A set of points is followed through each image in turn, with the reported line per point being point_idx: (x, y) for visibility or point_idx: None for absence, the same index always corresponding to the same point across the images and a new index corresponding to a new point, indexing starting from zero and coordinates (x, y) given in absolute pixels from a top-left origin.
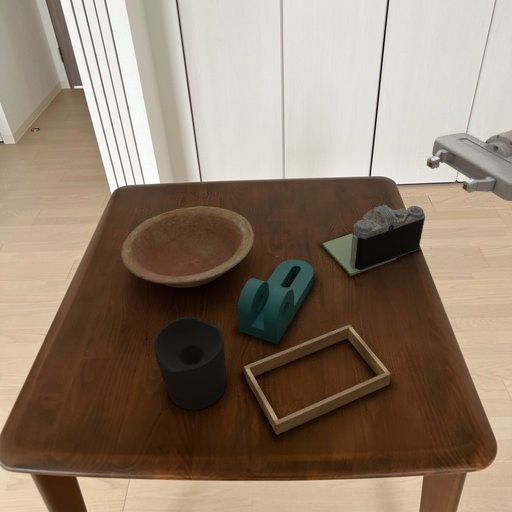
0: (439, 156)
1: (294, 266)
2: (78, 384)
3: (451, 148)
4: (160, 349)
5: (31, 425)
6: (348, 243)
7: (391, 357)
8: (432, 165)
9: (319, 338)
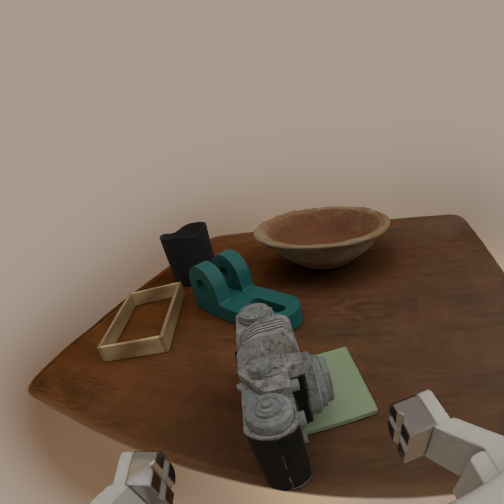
0: (457, 447)
1: (285, 308)
2: (236, 243)
3: (491, 485)
4: (192, 228)
5: (220, 238)
6: (335, 377)
7: (120, 373)
8: (391, 418)
9: (166, 316)
